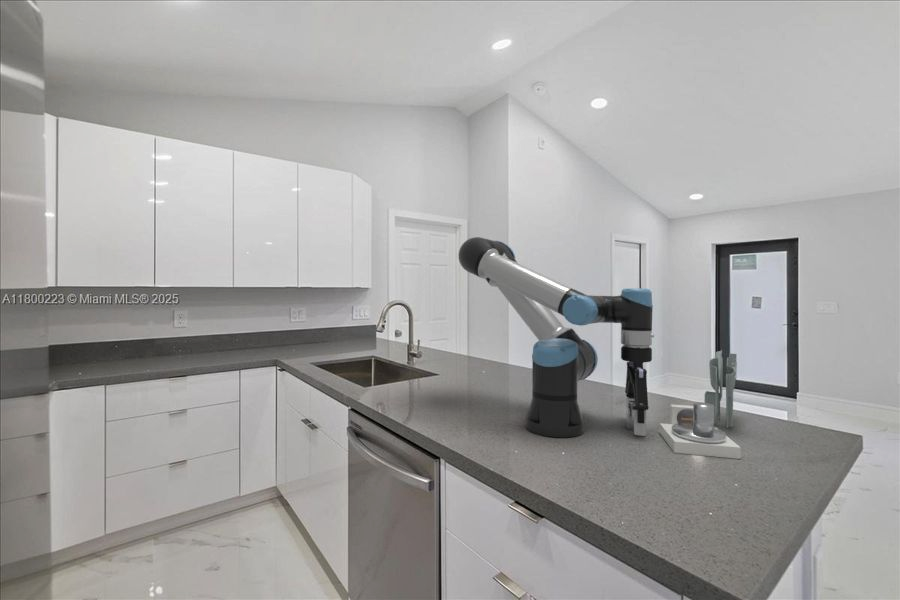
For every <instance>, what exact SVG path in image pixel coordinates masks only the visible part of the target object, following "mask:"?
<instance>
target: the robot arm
mask: <svg viewBox="0 0 900 600" xmlns="http://www.w3.org/2000/svg"><path fill="white" fill-rule="evenodd" d="M458 261H459V264H460V266H461V267H462V268H463V270H464V271H466V272H468V273H469V274H472V275H475V276H477V277H479V279H483V280H485V281H486V282H487V283H488V284H489V285H490V287H494V288H495V287H497V288H498V290H499V291H500V293H502V295H503V296H504V298H505V299H506V300H507V302H508V303H509V304H510V305H511V306H512V307H513V309H514V310H515V311H516V313H517V314H518V315H519V317H520V318H521V320H523V322H524V323H525V324H526V326H527V327H528V328H529V330H530V331H531V332H532V333H533V335H534V336H535V337H536V338H537V340H538V341H536V342H535V344H533V348H532V353H531V359H532V366H531V367H532V368H531V369H532V371H531V372H532V376H531V377H532V378H531V379H532V381H531V382H532V384H531V386H532V393H531V394H532V398H531V400H530V404H529V406H528V409H527V413H526V415H525V428H526V429H527V430H528V431H530V432H531V433H534V434H537V435H541V436H545V437H552V438H573V437H577V436H580V435H583V433H584V432H585V422H584V418H583V415H582V413H581V409H580V406H579V403H578V382H580V381H583V380H585V379H587V378H588V377H590V376H591V375H592V374H593V373H594V371H595V370H596V368H597V366H598V361H599V359H598V354H597V350H596V349H595V347H594V346H593V344H591V342H589V341H587V340H585V339H582V338H581V337H580V336H579V335H578V334H577V332H576V331H575V330H574V329H573V328H572V327H565V325H563V324H562V322H561V321H560V320H559V318H558V317H557V316H556V315H555V314H554V313H555V312H556V313H557V314H559V315H561V316H563V317H564V319H566V321H567V322H568V323H570V324H572V325H576V326H579V327H580V326H581V327H583V326H588V325H591V324H598V323H599V324H601V323H603V324H604V323H609V324H612V323H614V324H620V325H621V327H620V344H621V345H622V346H621V348H620V359H621V360H622V361H625V362H626V376H625V380H626V381H625V391H624V392H625V396H626V402H627V401H635V406H633V407H632V409H633V410H634V431H633V434H634V436H642V437H643V436H644V437H646V436H647V411H648V410H649V400H648V398H649V397H648V385H647V384H648V382H647V380H648V379H647V372H648V371H647V369H646V368H644V363H650V362H652V360H653V348H652V347H651V346H652V343H653V341H652V340H653V339H652V338H655V334H654V333H653V308H654V305H653V298H652V297H653V296H652V293H653V292H652V291H651V290H650V289H649V288H638V287H637V288H636V287H635V288H623V289H622V290H621V293H620V295H590V294H589V295H587V294H585V293H583V292H581V291H579V290H577V289H574V288H572V287H570V286H568V285H565V284H563V283H561V282H559V281H557V280H555V279H553V278H550V277H548V276H546V275H544V274H541V273H540V272H537V271H535V270H534V269H531V268H529V267H527V266H524V265H523V264H520V263H519V262H518V261H517V260H516V255H515V253H514V251H513V249H512V248H511V247H510V246H509V245H508V244H506V243H504V242H502V241H500V240H492V239H489V238H484V237H478V236H477V237H471V238H469V239H467V240H465V241H464V242H463V243H462V245H461V246H460V248H459V250H458ZM625 418H626V422H627V411H626V417H625Z"/></svg>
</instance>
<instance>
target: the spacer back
mask: <svg viewBox="0 0 900 600" xmlns="http://www.w3.org/2000/svg"><path fill="white" fill-rule="evenodd" d="M633 406H635V401H627V400H626V412H627V421H626V428H627V429H628V430H630V431H633V432H634V410H633V409H632V407H633Z"/></svg>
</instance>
